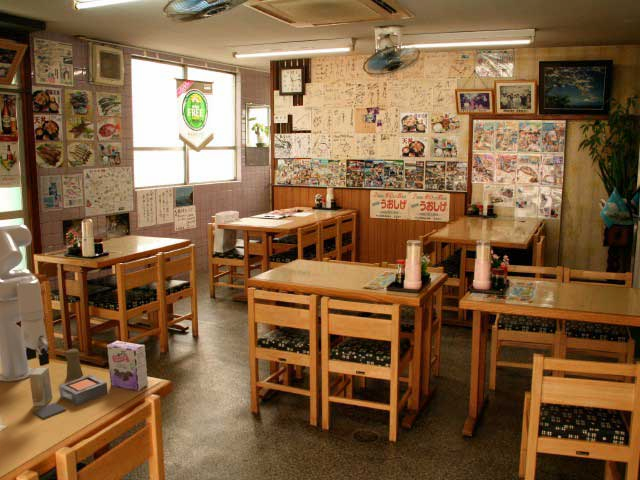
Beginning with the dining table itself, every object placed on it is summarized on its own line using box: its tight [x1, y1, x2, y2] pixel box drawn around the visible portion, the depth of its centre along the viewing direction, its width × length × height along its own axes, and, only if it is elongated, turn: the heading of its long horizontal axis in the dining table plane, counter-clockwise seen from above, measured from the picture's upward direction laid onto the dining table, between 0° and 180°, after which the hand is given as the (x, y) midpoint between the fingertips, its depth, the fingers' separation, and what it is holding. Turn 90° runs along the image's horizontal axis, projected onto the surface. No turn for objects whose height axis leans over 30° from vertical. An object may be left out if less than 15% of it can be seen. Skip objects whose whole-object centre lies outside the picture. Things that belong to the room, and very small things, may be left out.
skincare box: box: [28, 367, 53, 407], centre depth 215 cm, size 6×4×12 cm
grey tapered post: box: [64, 348, 84, 380], centre depth 238 cm, size 6×6×11 cm
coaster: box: [32, 402, 67, 420], centre depth 209 cm, size 8×8×1 cm
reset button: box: [69, 379, 97, 392], centre depth 220 cm, size 7×7×2 cm
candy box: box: [106, 340, 149, 392], centre depth 227 cm, size 14×6×16 cm, turn 65°
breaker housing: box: [58, 374, 109, 407], centre depth 220 cm, size 12×12×4 cm
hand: (38, 361), depth 213 cm, fingers open, 9 cm apart
